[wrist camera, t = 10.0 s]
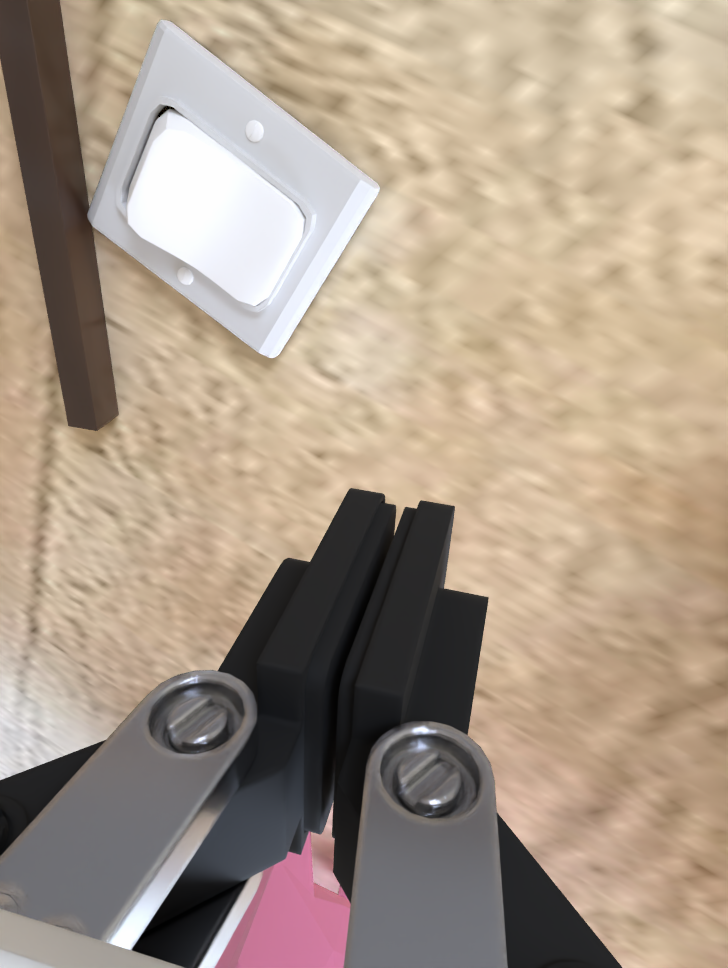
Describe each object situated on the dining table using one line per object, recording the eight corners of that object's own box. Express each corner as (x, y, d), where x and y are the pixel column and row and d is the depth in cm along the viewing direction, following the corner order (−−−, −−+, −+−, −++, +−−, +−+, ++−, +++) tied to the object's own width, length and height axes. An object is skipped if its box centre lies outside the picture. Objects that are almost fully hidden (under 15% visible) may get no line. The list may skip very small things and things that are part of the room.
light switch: (123, 8, 30) (361, 194, 31) (173, 19, 34) (386, 185, 34) (50, 224, 36) (251, 377, 36) (99, 214, 39) (282, 354, 40)
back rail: (44, -108, 32) (7, -120, 30) (119, 414, 45) (97, 431, 43) (6, -108, 32) (-34, -121, 30) (91, 410, 45) (68, 426, 43)
